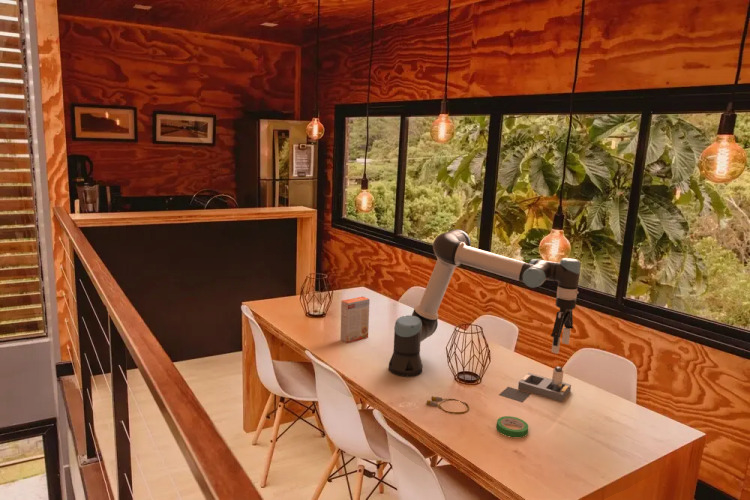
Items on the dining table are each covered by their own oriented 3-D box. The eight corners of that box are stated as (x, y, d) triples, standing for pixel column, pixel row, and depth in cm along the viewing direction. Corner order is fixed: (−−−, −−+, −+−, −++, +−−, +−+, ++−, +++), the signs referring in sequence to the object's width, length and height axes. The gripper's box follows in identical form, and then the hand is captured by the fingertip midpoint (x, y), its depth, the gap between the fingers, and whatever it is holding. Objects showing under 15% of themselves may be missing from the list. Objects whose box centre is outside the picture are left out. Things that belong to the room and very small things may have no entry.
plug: (559, 396, 225) (562, 370, 222) (549, 393, 227) (552, 368, 224) (561, 393, 228) (565, 367, 226) (552, 390, 230) (555, 365, 228)
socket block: (561, 404, 220) (562, 394, 219) (517, 390, 230) (518, 381, 229) (570, 393, 230) (571, 384, 229) (527, 381, 240) (528, 372, 239)
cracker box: (361, 334, 287) (362, 295, 283) (368, 338, 282) (370, 298, 278) (339, 339, 278) (340, 299, 274) (346, 343, 274) (348, 302, 269)
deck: (522, 404, 218) (522, 402, 218) (498, 397, 224) (498, 394, 223) (531, 395, 226) (531, 393, 226) (507, 388, 232) (508, 386, 231)
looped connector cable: (441, 394, 224) (442, 390, 224) (474, 408, 214) (475, 404, 214) (423, 404, 216) (423, 399, 215) (456, 419, 205) (457, 414, 205)
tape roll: (527, 425, 203) (527, 418, 203) (528, 440, 193) (529, 433, 192) (496, 420, 205) (497, 414, 205) (495, 435, 195) (496, 428, 194)
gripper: (566, 306, 207) (560, 359, 211) (584, 293, 227) (578, 341, 232) (546, 302, 211) (540, 354, 216) (566, 289, 231) (560, 337, 236)
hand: (560, 348), depth 224 cm, fingers open, 13 cm apart
